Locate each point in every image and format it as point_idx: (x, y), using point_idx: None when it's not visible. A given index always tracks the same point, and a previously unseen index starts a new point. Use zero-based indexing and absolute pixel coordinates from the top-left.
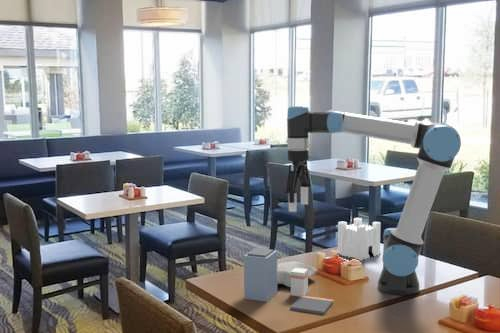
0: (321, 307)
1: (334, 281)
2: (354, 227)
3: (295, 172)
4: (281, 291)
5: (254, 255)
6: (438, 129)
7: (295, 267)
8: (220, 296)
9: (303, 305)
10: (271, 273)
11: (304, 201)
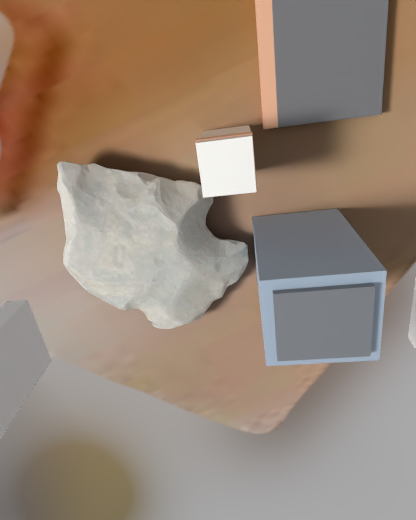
0: (350, 3)
1: (53, 92)
2: None
3: None
4: (235, 211)
5: (371, 327)
6: None
7: (124, 225)
8: None
9: (353, 77)
10: (317, 241)
11: (22, 348)
